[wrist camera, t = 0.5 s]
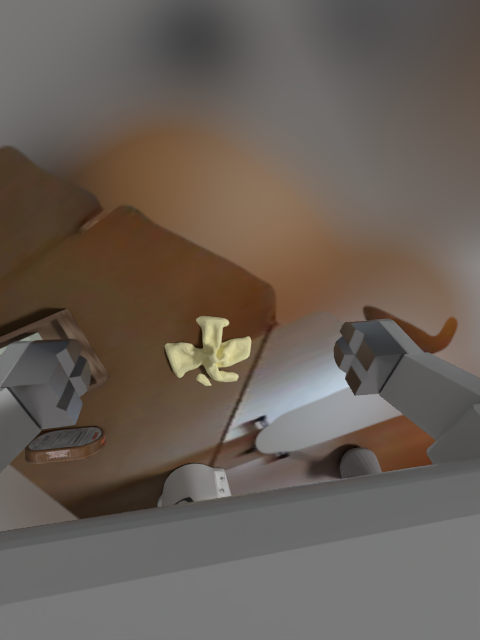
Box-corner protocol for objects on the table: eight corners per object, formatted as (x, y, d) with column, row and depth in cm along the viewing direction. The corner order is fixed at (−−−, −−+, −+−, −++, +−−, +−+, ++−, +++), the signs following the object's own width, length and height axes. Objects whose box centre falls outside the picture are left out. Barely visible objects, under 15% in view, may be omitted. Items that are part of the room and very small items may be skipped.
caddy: (109, 376, 59) (104, 384, 56) (22, 416, 58) (10, 427, 54) (67, 308, 55) (58, 312, 51) (-28, 349, 53) (-45, 356, 49)
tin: (39, 441, 60) (15, 469, 52) (37, 428, 59) (13, 455, 51) (110, 434, 62) (99, 459, 54) (109, 422, 62) (97, 446, 54)
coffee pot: (377, 453, 79) (419, 495, 65) (353, 482, 80) (389, 530, 65) (329, 419, 73) (363, 457, 59) (303, 451, 74) (331, 497, 59)
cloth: (152, 361, 61) (148, 371, 55) (201, 297, 60) (202, 301, 54) (226, 408, 67) (230, 422, 61) (272, 351, 66) (280, 360, 60)
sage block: (49, 349, 55) (40, 354, 52) (20, 361, 54) (9, 368, 51) (37, 332, 54) (27, 337, 50) (9, 344, 53) (-4, 350, 50)
